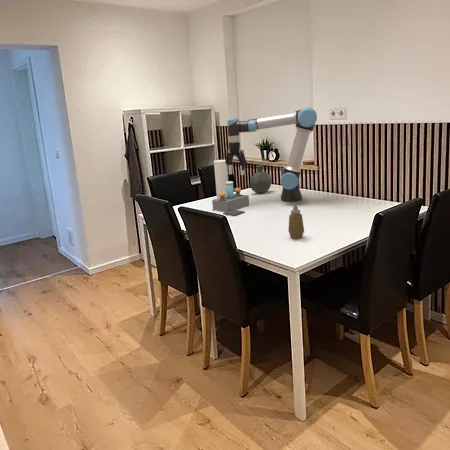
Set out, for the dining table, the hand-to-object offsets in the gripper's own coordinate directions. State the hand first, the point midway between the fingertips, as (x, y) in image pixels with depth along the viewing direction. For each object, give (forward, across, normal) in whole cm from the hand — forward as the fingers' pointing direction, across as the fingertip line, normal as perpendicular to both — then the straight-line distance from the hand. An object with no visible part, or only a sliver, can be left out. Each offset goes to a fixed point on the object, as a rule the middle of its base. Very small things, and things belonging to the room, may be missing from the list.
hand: (236, 174), depth 304 cm
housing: (+22, 0, -8) cm, 23 cm away
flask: (+22, -10, +39) cm, 46 cm away
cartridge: (+22, 0, -8) cm, 23 cm away
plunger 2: (+19, 0, 0) cm, 19 cm away
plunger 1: (+19, 0, -16) cm, 25 cm away
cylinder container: (+22, -22, +8) cm, 32 cm away
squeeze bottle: (+22, +77, -44) cm, 91 cm away
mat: (+22, +13, -20) cm, 32 cm away
